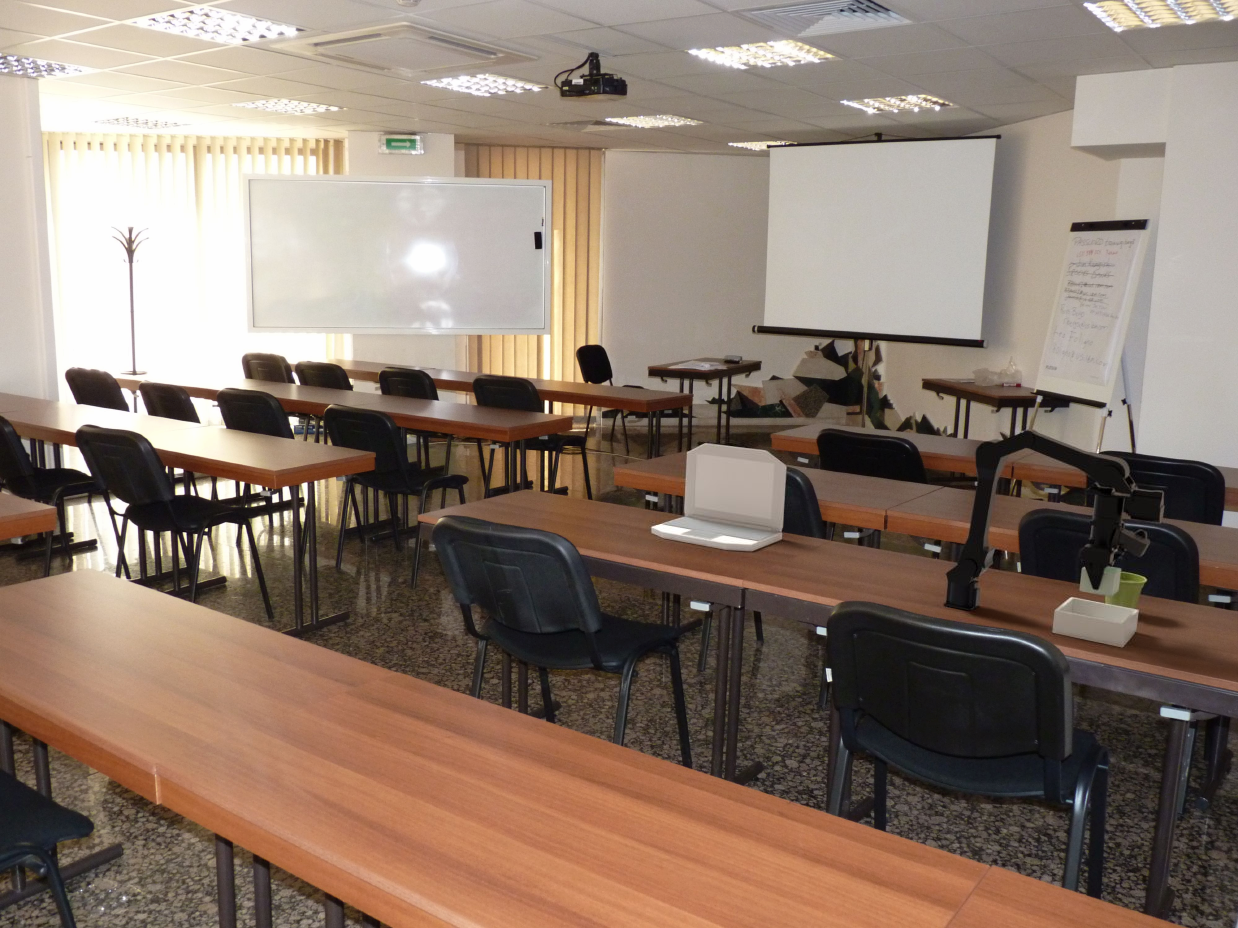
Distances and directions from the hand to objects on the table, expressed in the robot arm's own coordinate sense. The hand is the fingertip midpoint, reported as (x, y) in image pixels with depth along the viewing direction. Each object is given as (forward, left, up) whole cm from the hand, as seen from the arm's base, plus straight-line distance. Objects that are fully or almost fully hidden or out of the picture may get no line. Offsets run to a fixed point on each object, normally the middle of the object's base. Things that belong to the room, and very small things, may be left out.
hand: (1099, 586), depth 217 cm
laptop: (-109, +17, -11) cm, 111 cm away
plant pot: (+1, +21, -10) cm, 24 cm away
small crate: (0, 0, -1) cm, 1 cm away
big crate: (0, 0, -10) cm, 10 cm away
